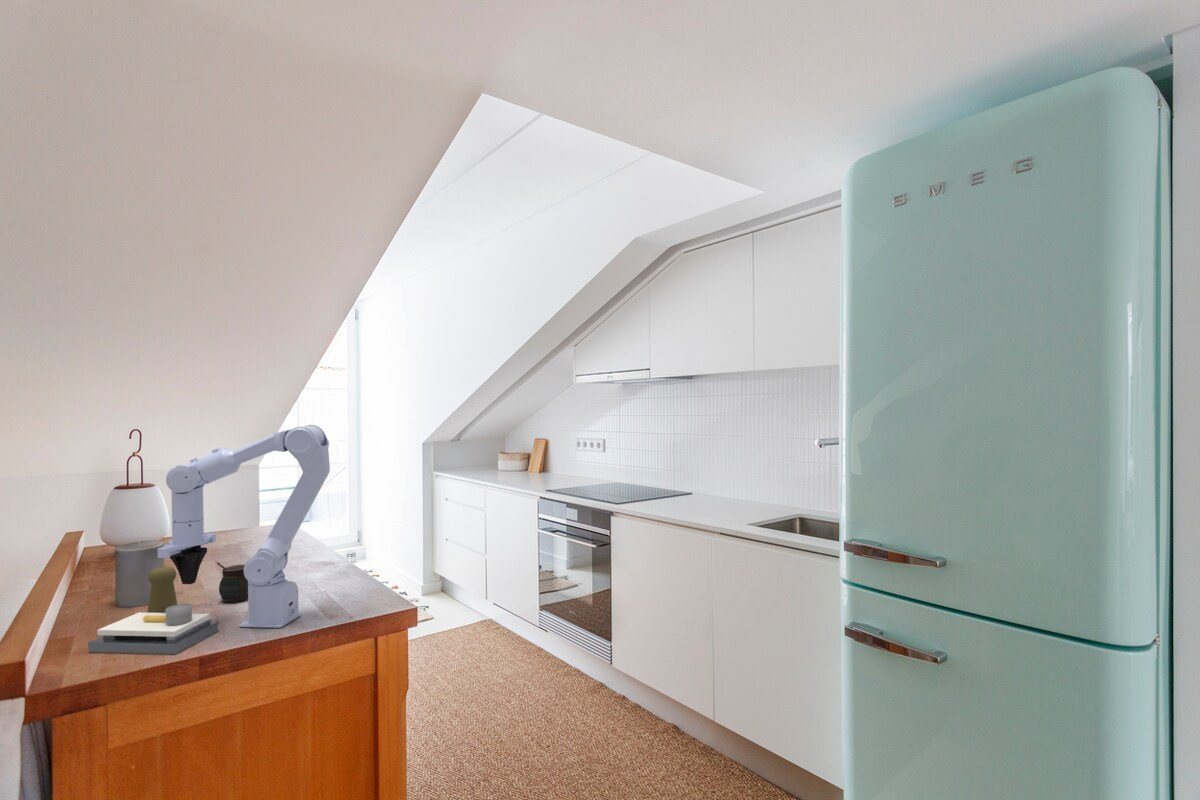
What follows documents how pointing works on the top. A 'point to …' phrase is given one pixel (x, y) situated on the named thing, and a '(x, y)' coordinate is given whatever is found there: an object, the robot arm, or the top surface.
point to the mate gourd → (233, 583)
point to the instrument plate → (157, 623)
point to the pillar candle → (135, 572)
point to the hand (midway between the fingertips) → (188, 583)
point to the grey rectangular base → (153, 641)
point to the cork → (161, 589)
